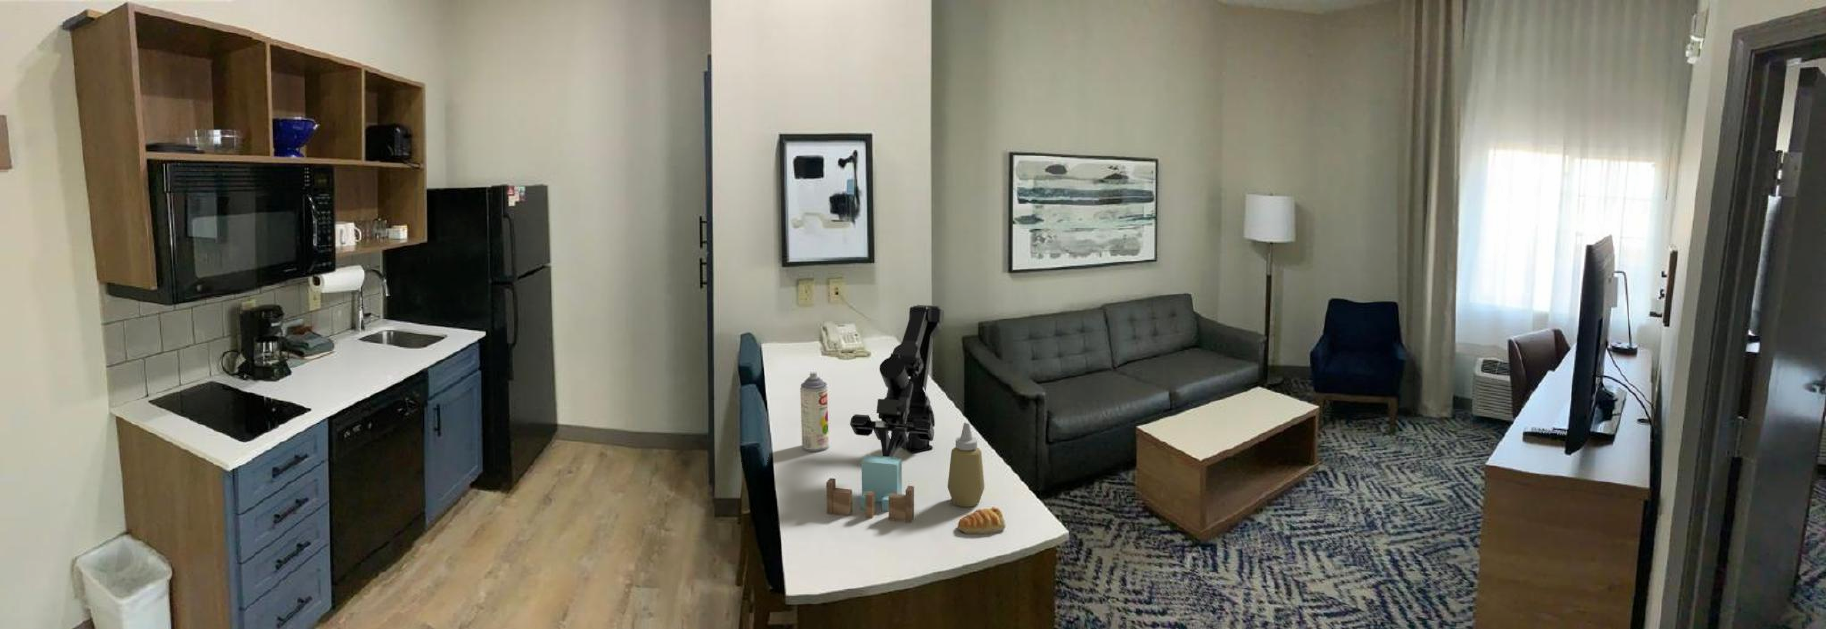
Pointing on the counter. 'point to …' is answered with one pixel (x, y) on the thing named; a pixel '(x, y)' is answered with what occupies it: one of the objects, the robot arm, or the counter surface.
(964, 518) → the pastry
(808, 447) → the aerosol can
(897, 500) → the rail
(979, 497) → the squeeze bottle
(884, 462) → the pale blue brick
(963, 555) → the counter surface
